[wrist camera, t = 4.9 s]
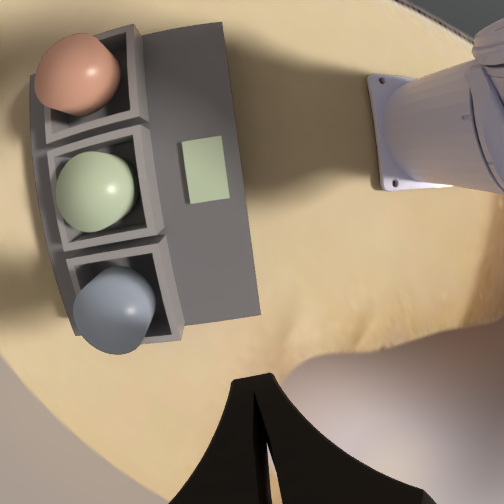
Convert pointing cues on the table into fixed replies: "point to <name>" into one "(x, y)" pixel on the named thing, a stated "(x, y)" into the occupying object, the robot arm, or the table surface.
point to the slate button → (115, 310)
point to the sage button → (96, 190)
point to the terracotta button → (77, 75)
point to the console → (158, 181)
